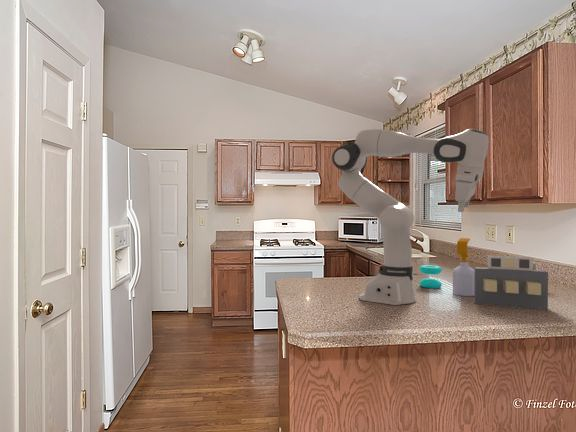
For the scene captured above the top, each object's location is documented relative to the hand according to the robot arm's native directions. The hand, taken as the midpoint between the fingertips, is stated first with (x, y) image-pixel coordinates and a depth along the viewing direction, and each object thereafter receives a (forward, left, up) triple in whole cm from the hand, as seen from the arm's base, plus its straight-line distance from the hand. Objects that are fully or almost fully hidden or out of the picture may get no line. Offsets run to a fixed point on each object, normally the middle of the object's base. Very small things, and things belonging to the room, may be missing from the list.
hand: (463, 209), depth 141 cm
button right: (+24, +4, -31) cm, 39 cm away
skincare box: (+31, +47, -38) cm, 68 cm away
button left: (+10, +4, -31) cm, 33 cm away
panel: (+17, +6, -37) cm, 41 cm away
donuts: (-12, +33, -38) cm, 52 cm away
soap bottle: (+2, +21, -37) cm, 43 cm away
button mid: (+17, +4, -31) cm, 36 cm away
